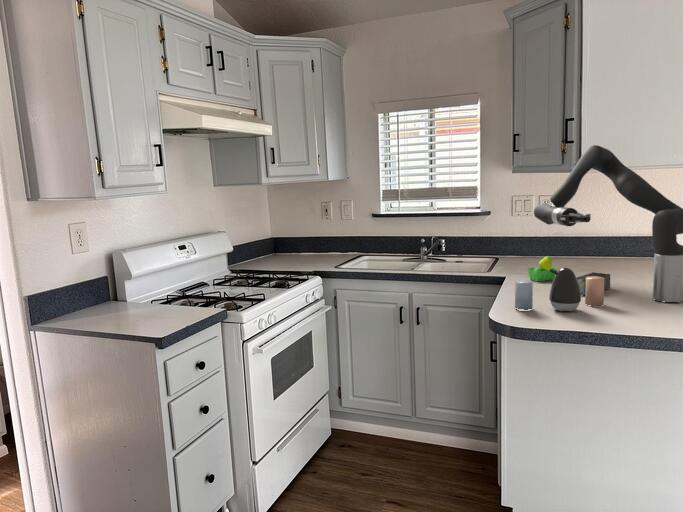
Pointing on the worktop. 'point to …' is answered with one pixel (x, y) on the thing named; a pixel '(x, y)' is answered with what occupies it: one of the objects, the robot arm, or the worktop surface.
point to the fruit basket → (542, 270)
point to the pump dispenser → (565, 290)
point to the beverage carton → (582, 279)
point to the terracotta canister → (594, 291)
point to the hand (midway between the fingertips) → (587, 219)
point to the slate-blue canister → (524, 294)
